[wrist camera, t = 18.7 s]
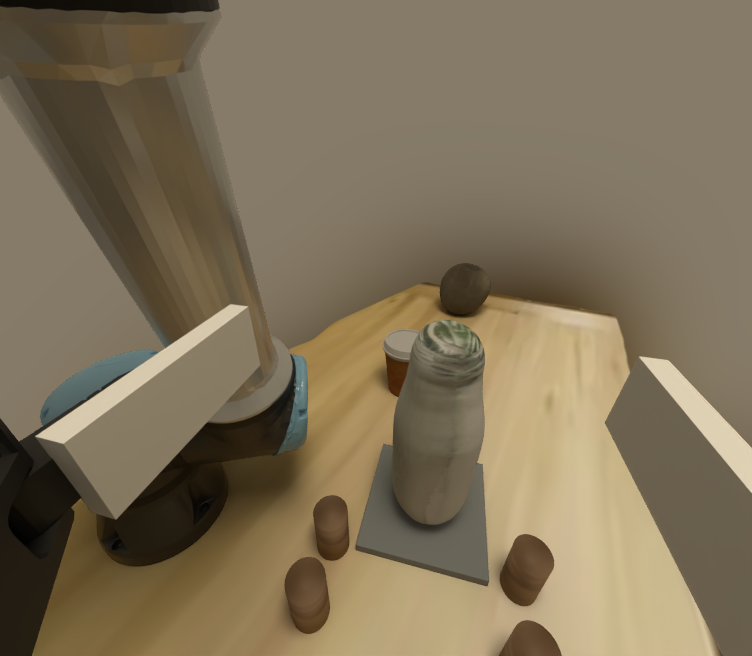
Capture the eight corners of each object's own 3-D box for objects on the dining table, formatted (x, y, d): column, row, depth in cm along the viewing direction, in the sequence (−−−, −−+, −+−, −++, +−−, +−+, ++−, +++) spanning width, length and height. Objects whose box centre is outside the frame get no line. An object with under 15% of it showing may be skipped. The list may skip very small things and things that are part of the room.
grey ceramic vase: (475, 527, 42) (529, 350, 28) (401, 546, 40) (419, 365, 26) (444, 463, 50) (474, 302, 36) (382, 476, 48) (387, 311, 34)
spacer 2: (313, 536, 42) (308, 504, 38) (341, 521, 44) (339, 490, 40) (324, 567, 39) (320, 535, 35) (354, 550, 40) (353, 518, 37)
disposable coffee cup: (390, 369, 73) (393, 324, 67) (431, 380, 70) (437, 333, 64) (374, 395, 65) (374, 346, 60) (418, 409, 62) (424, 358, 56)
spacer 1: (288, 600, 36) (280, 570, 32) (322, 580, 38) (317, 549, 34) (299, 642, 33) (290, 614, 29) (335, 619, 35) (331, 589, 31)
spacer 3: (492, 576, 38) (505, 545, 35) (515, 558, 40) (530, 527, 36) (520, 614, 35) (536, 584, 32) (543, 593, 37) (562, 562, 33)
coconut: (464, 327, 90) (473, 277, 83) (428, 309, 100) (432, 263, 92) (493, 313, 98) (503, 266, 91) (456, 298, 108) (463, 254, 100)
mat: (356, 549, 40) (355, 544, 40) (383, 448, 54) (383, 444, 53) (487, 586, 37) (489, 581, 37) (481, 469, 51) (482, 464, 50)
